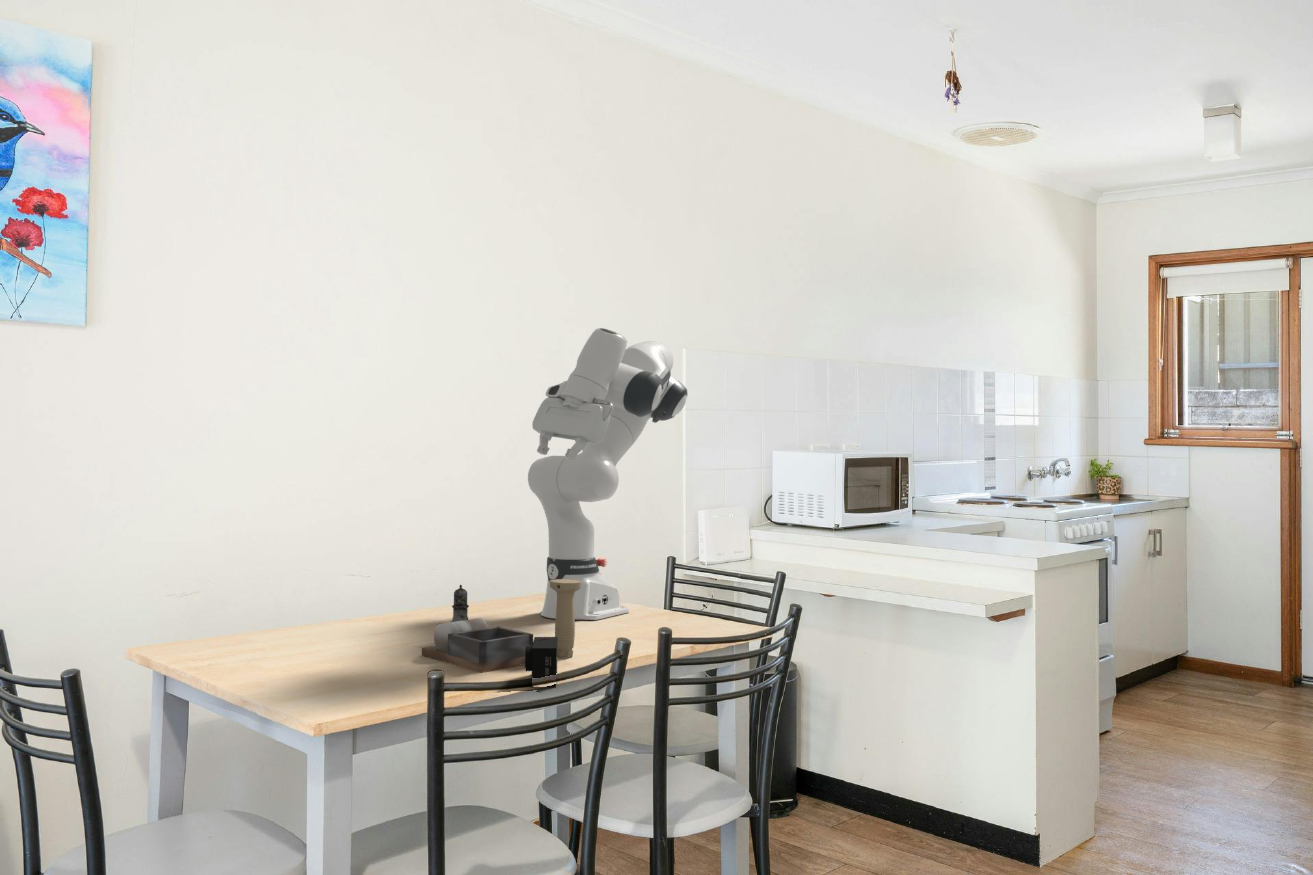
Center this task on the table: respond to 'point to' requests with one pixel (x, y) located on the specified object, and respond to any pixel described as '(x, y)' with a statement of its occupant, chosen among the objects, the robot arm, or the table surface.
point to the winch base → (478, 645)
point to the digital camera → (542, 657)
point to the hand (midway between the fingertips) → (555, 455)
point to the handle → (565, 615)
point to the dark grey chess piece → (460, 605)
